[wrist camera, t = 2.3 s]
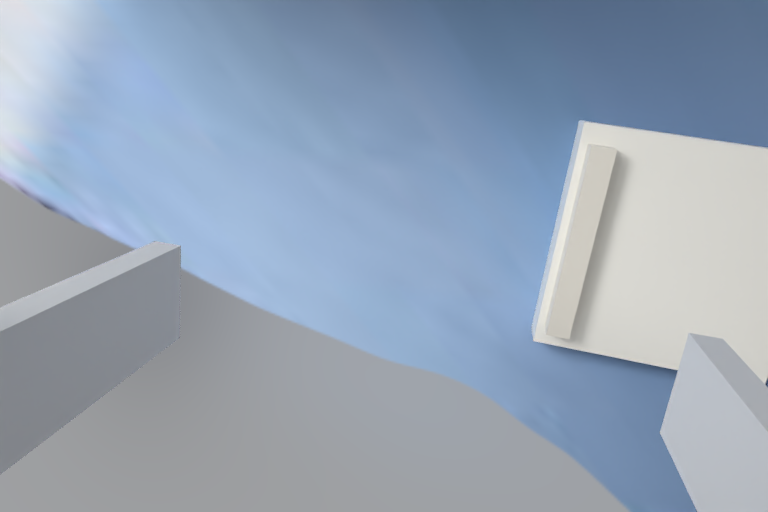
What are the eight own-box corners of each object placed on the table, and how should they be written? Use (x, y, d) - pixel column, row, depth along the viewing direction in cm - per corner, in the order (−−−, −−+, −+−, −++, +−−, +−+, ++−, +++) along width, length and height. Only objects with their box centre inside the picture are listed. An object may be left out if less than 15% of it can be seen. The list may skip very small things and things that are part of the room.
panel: (530, 323, 34) (534, 350, 31) (577, 119, 31) (587, 123, 27) (744, 366, 33) (774, 399, 29) (820, 154, 29) (864, 163, 26)
